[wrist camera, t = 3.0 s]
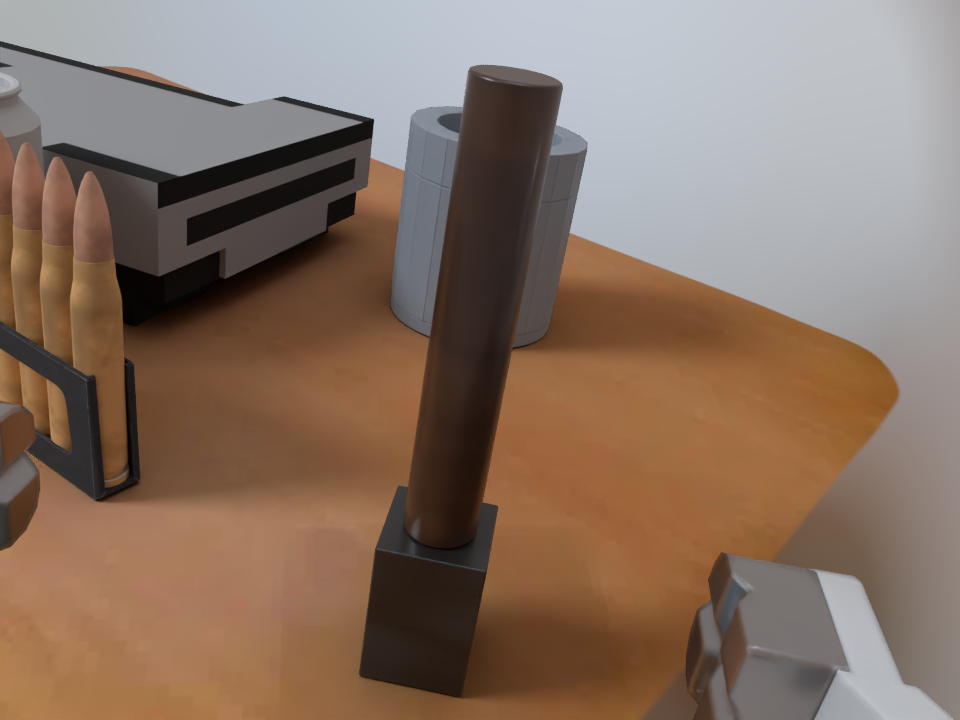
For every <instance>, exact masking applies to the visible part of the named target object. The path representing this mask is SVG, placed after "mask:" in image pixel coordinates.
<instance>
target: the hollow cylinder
mask: <svg viewBox="0 0 960 720" xmlns="http://www.w3.org/2000/svg"><path fill="white" fill-rule="evenodd" d="M462 110H463V107H449V106H447V107H429V108H425V109H421V110H417V111H416V112H415V113H414V114H413V115H412V116H411V123H410V131H409V140H408V148H407V157H406V165H405V173H404V182H403V190H402V198H401V207H400V215H399V224H398V232H397V241H396V249H395V258H394V266H393V274H392V283H391V299H390V305H391V308H392V311H393V312H394V314H395V315H396V316H397V318H398V319H399V320H401V321H402V322H403V323H404V324H406V325H407V326H408V327H410V328H412V329H413V330H415V331H417V332H419V333H421V334H424V335H426V336H428V337H430V331H431V325H432V318H433V311H434V304H435V297H436V290H437V283H438V276H439V269H440V262H441V255H442V248H443V241H444V235H445V228H446V221H447V214H448V207H449V200H450V193H451V186H452V179H453V172H454V165H455V158H456V152H457V145H458V138H459V131H460V124H461V117H462ZM586 152H587V142H586V141H585V140H584V139H583V138H582V137H581V136H580V135H577V134H575V133H573V132H571V131H569V130H567V129H565V128H563V127H560V126H557V125H556V126H555V131H554V136H553V141H552V147H551V152H550V157H549V162H548V167H547V172H546V177H545V183H544V188H543V193H542V198H541V203H540V208H539V214H538V219H537V224H536V229H535V234H534V239H533V244H532V250H531V255H530V260H529V265H528V270H527V275H526V281H525V286H524V291H523V296H522V301H521V306H520V311H519V317H518V322H517V327H516V332H515V337H514V342H513V348H514V347H520V346H524V345H528V344H530V343H533V342H535V341H537V340H539V339H541V338H542V337H543V336H544V335H545V334H546V332H547V331H548V328H549V324H550V320H551V317H552V312H553V307H554V302H555V298H556V293H557V288H558V284H559V279H560V274H561V270H562V265H563V260H564V256H565V251H566V246H567V241H568V237H569V232H570V227H571V223H572V218H573V213H574V208H575V204H576V199H577V194H578V190H579V184H580V180H581V176H582V171H583V166H584V162H585V157H586Z"/></svg>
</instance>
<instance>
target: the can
mask: <svg viewBox="0 0 960 720" xmlns="http://www.w3.org/2000/svg"><path fill="white" fill-rule="evenodd" d="M21 91H22V85H21V83H20V82H19V81H18V80H16V79H15V78H13V77H12V76H10V75H7V74H4V73H1V72H0V131H1V132H2V134H3V135H4V137H5V139H6V140H7V142H8V144H9V147H10V149H11V152H12V155H13V157H14V160H15V163H16V159H17V156H18V153H19V150H20V148H21V146H22V144H23V143H29V144H30V145H31V147H32V148H33V150H34V152H35V153H36V155H37V158H38V160H39V162H40V165H41V168H42V171H43V174H44V163H43V149H42V136H41V123H40V117H39V116H38V115H37V114H36V113H35V112H34V111H33V110H32V109H31V108H30V107H29V106H28V105H27V104H26V103H25V102H24V101H23V100H22V99H21V98H20V97H19V96H18V94H19V93H20V92H21Z"/></svg>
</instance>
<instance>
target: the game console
mask: <svg viewBox="0 0 960 720" xmlns="http://www.w3.org/2000/svg"><path fill="white" fill-rule="evenodd" d="M0 72H1V73H4V74H7V75H10V76H12V77H13V78H15V79H16V80H18V81H19V82H20V83H21V85H22V91H21V92H20V93H19V94H18V96H19V97H20V98H21V99H22V100H23V101H24V102H25V103H26V104H27V105H28V106H29V107H30V108H31V109H32V110H33V111H34V112H35V113H36V114H37V115H38V116H39V117H40V123H41V136H42V149H43V163H44V177H45V180H46V176H47V172H48V169H49V166H50V164H51V162H52V160H53V158H54V157H60V158H61V159H62V161H63V162H64V164H65V166H66V168H67V170H68V172H69V174H70V177H71V180H72V183H73V186H74V190H75V194H76V198H77V196H78V192H79V188H80V185H81V182H82V180H83V177H84V175H85V174H86V172H88V171H90V172H93V173H94V175H95V176H96V178H97V180H98V182H99V184H100V186H101V188H102V191H103V194H104V197H105V201H106V204H107V208H108V212H109V217H110V223H111V230H112V240H113V255H114V257H115V268H116V278H117V281H118V285H119V289H120V293H121V297H122V314H123V322H125V323H128V324H131V325H133V326H135V325H137V324H139V323H141V322H143V321H146V320H148V319H150V318H152V317H154V316H156V315H158V314H160V313H162V312H164V311H166V310H168V309H170V308H172V307H174V306H176V305H178V304H181V303H183V302H185V301H187V300H189V299H191V298H193V297H195V296H197V295H199V294H201V293H203V292H205V291H207V290H209V283H211V282H213V281H215V280H217V279H219V278H221V277H222V278H225V279H226V278H228V277H230V276H232V275H234V274H236V273H238V272H240V271H242V270H244V269H246V268H249V267H251V266H253V265H255V264H257V263H259V262H261V261H263V260H265V259H267V258H269V257H271V256H274V255H282V254H284V253H286V252H288V251H290V250H292V249H294V248H296V247H298V246H300V245H302V244H304V243H306V242H308V241H310V240H312V239H314V238H317V237H319V236H321V235H323V234H325V233H327V232H328V227H329V226H331V225H333V224H335V223H337V222H339V221H341V220H343V219H345V218H348V217H350V216H352V215H354V210H355V199H356V191H358V190H361V189H363V188H365V187H367V185H368V175H369V165H370V155H371V154H370V153H371V144H372V135H373V124H374V119H371V118H367V117H363V116H359V115H355V114H351V113H347V112H343V111H340V110H336V109H332V108H328V107H324V106H320V105H316V104H312V103H308V102H304V101H300V100H296V99H292V98H288V97H279V98H274V99H269V100H265V101H260V102H255V103H251V104H245V105H244V104H240V103H236V102H232V101H228V100H225V99H221V98H217V97H213V96H209V95H205V94H201V93H198V92H194V91H190V90H186V89H182V88H178V87H175V86H171V85H167V84H163V83H159V82H155V81H151V80H148V79H144V78H140V77H136V76H132V75H128V74H124V73H121V72H117V71H113V70H109V69H105V68H101V67H97V66H94V65H90V64H86V63H82V62H78V61H74V60H70V59H66V58H63V57H59V56H55V55H51V54H47V53H44V52H40V51H36V50H32V49H28V48H24V47H20V46H17V45H13V44H9V43H5V42H1V41H0Z"/></svg>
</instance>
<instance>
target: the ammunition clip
mask: <svg viewBox="0 0 960 720" xmlns="http://www.w3.org/2000/svg"><path fill="white" fill-rule="evenodd" d="M0 401H4V402H8V403H13V404H17V405H21V406H24V407H25V408H27V409H28V410H29V411H30V412H31V413H32V414H33V416H34V424H35V432H36V440H35V441H34V442H33V443H32V445H31V446H30V447H29V448H28V449H27V451H28V452H30V453H31V454H32V455H34V456H35V457H37V458H38V459H39V460H41V461H42V462H43V463H45V464H46V465H48V466H49V467H50V468H52V469H53V470H54V471H56V472H57V473H59V474H60V475H61V476H63V477H64V478H65V479H67V480H68V481H70V482H71V483H72V484H74V485H75V486H76V487H78V488H79V489H80V490H82V491H83V492H85V493H86V494H87V495H89V496H90V497H91V498H93V499H94V500H96V499H99V498H103V497H105V496H107V495H109V494H111V493H113V492H115V491H118V490H120V489H122V488H124V487H126V486H128V485H130V484H133V483H135V482H137V481H139V480H140V470H139V451H138V432H137V413H136V394H135V375H134V364H133V362H131V361H130V360H128V359H126V358H125V357H124V338H123V314H122V297H121V293H120V289H119V285H118V281H117V278H116V268H115V257H114V255H113V240H112V230H111V223H110V217H109V212H108V208H107V204H106V201H105V197H104V194H103V191H102V188H101V186H100V184H99V182H98V180H97V178H96V176H95V175H94V173H93V172H90V171H88V172H86V174H85V175H84V177H83V180H82V182H81V185H80V188H79V192H78V196H77V198H76V194H75V190H74V186H73V183H72V180H71V177H70V174H69V172H68V170H67V168H66V166H65V164H64V162H63V161H62V159H61V158H60V157H54V158H53V160H52V162H51V164H50V166H49V169H48V172H47V176H46V180H45V177H44V174H43V171H42V168H41V165H40V162H39V160H38V158H37V155H36V153H35V152H34V150H33V148H32V147H31V145H30V144H29V143H23V144H22V146H21V148H20V150H19V153H18V156H17V159H16V163H15V160H14V157H13V155H12V152H11V149H10V147H9V144H8V142H7V140H6V139H5V137H4V135H3V134H2V132H1V131H0Z"/></svg>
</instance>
